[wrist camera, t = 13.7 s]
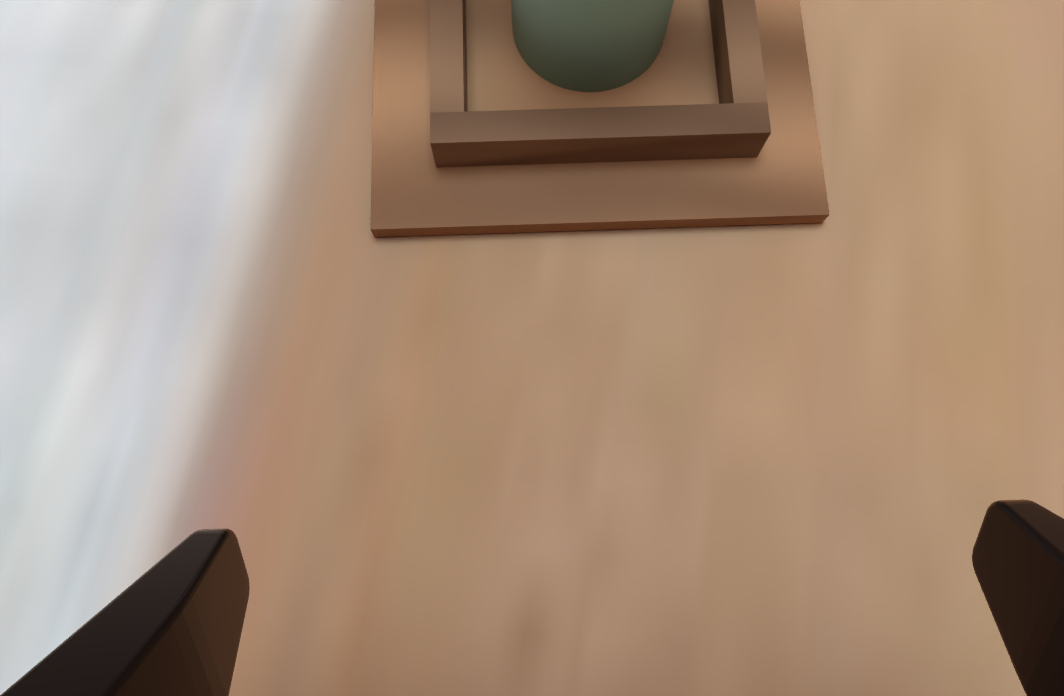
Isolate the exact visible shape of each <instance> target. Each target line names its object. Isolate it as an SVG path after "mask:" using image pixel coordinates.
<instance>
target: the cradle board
mask: <svg viewBox="0 0 1064 696" xmlns="http://www.w3.org/2000/svg"><path fill="white" fill-rule="evenodd" d="M828 216H829V209H828V202H827V195H826V188H825V180H824V173H823V166H822V159H821V152H820V145H819V138H818V130H817V123H816V116H815V109H814V102H813V95H812V88H811V80H810V73H809V66H808V59H807V52H806V45H805V38H804V30H803V23H802V16H801V9H800V2H799V0H674V2H673V6H672V10H671V14H670V17H669V21H668V25H667V29H666V33H665V37H664V40H663V43H662V47H661V49H660V51H659V53H658V55H657V57H656V59H655V60H654V62H653V63H652V65H651V66H650V67H649V68H648V69H647V70H646V71H645V72H644V73H643V74H641V75H640V76H639V77H638V78H636V79H634V80H633V81H631V82H630V83H627V84H625V85H623V86H621V87H618V88H615V89H611V90H606V91H601V92H579V91H573V90H569V89H565V88H562V87H559V86H557V85H554V84H552V83H550V82H548V81H547V80H545V79H543V78H542V77H540V76H539V75H538V74H536V73H535V72H534V71H533V70H532V69H531V68H530V67H529V66H528V65H527V63H526V62H525V61H524V60H523V58H522V56H521V55H520V53H519V51H518V49H517V46H516V44H515V41H514V37H513V30H512V9H511V0H375V26H374V79H373V133H372V187H371V231H372V233H373V235H374V237H392V236H423V235H454V234H485V233H516V232H547V231H578V230H609V229H640V228H671V227H702V226H733V225H764V224H795V223H822V222H823V221H824V220H825V219H826V218H827V217H828Z"/></svg>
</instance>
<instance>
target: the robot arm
mask: <svg viewBox="0 0 1064 696" xmlns="http://www.w3.org/2000/svg"><path fill="white" fill-rule="evenodd" d="M972 561H973V567H974V571H975V574H976V576H977V578H978V581H979V583H980V586H981V588H982V591H983V593H984V595H985V598H986V600H987V603H988V605H989V608H990V610H991V612H992V615H993V617H994V620H995V622H996V625H997V627H998V629H999V632H1000V634H1001V637H1002V639H1003V642H1004V644H1005V646H1006V649H1007V651H1008V654H1009V656H1010V659H1011V661H1012V663H1013V666H1014V668H1015V671H1016V673H1017V675H1018V677H1019V680H1020V682H1021V684H1022V686H1023V688H1024V691H1025V693H1026V695H1027V696H1064V519H1063V518H1062V517H1060V516H1058V515H1056V514H1054V513H1053V512H1051V511H1049V510H1047V509H1046V508H1044V507H1042V506H1040V505H1039V504H1037V503H1035V502H1033V501H1029V500H1001V501H996V502H993V503H992V504H991V505H990V506H989V507H988V509H987V512H986V514H985V517H984V520H983V523H982V526H981V528H980V531H979V534H978V537H977V540H976V542H975V545H974V548H973V554H972ZM248 598H249V578H248V574H247V570H246V567H245V564H244V560H243V557H242V553H241V550H240V547H239V543H238V540H237V537H236V535H235V533H234V532H233V531H232V530H229V529H203V530H198V531H196V532H194V533H192V534H191V535H190V536H188V537H187V538H186V539H185V540H184V541H183V542H181V543H180V544H179V545H178V546H177V547H175V548H174V549H173V550H172V551H171V552H169V553H168V554H167V555H166V556H165V557H164V558H162V559H161V560H160V561H159V562H158V563H156V564H155V565H154V566H153V567H152V568H151V569H149V570H148V571H147V572H146V573H145V574H143V575H142V576H141V577H140V578H139V579H138V580H136V581H135V582H134V583H133V584H132V585H130V586H129V587H128V588H127V589H126V590H125V591H123V592H122V593H121V594H120V595H119V596H117V597H116V598H115V599H114V600H113V601H111V602H110V603H109V604H108V605H107V606H106V607H104V608H103V609H102V610H101V611H100V612H98V613H97V614H96V615H95V616H94V617H93V618H91V619H90V620H89V621H88V622H87V623H85V624H84V625H83V626H82V627H81V628H80V629H78V630H77V631H76V632H75V633H74V634H72V635H71V636H70V637H69V638H68V639H66V640H65V641H64V642H63V643H62V644H61V645H59V646H58V647H57V648H56V649H55V650H53V651H52V652H51V653H50V654H49V655H48V656H46V657H45V658H44V659H43V660H42V661H40V662H39V663H38V664H37V665H36V666H35V667H33V668H32V669H31V670H30V671H29V672H27V673H26V674H25V675H24V676H23V677H21V678H20V679H19V680H18V681H17V682H16V683H14V684H13V685H12V686H11V687H10V688H8V689H7V690H6V691H5V692H4V693H3V694H1V695H0V696H229V691H230V686H231V681H232V676H233V671H234V666H235V661H236V657H237V652H238V647H239V642H240V637H241V632H242V627H243V622H244V618H245V613H246V608H247V603H248Z"/></svg>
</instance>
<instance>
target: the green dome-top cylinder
mask: <svg viewBox="0 0 1064 696" xmlns="http://www.w3.org/2000/svg"><path fill="white" fill-rule="evenodd" d="M673 2H674V0H511V9H512V30H513V37H514V41H515V44H516V46H517V49H518V51H519V53H520V55H521V56H522V58H523V60H524V61H525V62H526V63H527V65H528V66H529V67H530V68H531V69H532V70H533V71H534V72H535V73H536V74H538V75H539V76H540V77H542V78H543V79H545V80H547V81H548V82H550V83H552V84H554V85H557V86H559V87H562V88H565V89H569V90H573V91H579V92H601V91H606V90H611V89H615V88H618V87H621V86H623V85H625V84H627V83H630V82H631V81H633V80H634V79H636V78H638V77H639V76H640V75H641V74H643V73H644V72H645V71H646V70H647V69H648V68H649V67H650V66H651V65H652V63H653V62H654V60H655V59H656V57H657V55H658V53H659V51H660V49H661V47H662V43H663V40H664V37H665V33H666V29H667V25H668V21H669V17H670V14H671V10H672V6H673Z"/></svg>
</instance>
